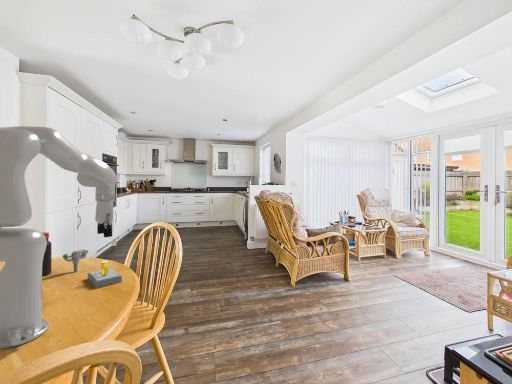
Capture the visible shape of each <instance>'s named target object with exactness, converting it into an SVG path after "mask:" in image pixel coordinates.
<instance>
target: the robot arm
mask: <svg viewBox="0 0 512 384" xmlns="http://www.w3.org/2000/svg"><path fill="white" fill-rule="evenodd" d="M39 154H40V155H43V156H44V157H46V158H47V159H49V160H50V161H51V162H53V163H54V164H55V165H57V166H58V167H59V168H61V169H63V170H65V171H69V172H72V173H77V175H76V180H77V182H78V184H80V185H81V186H82V187H87V188H95V201H94V202H96V206H95V219H94V220H95V222H96V223H97V229H96V230H97V233H96V234H98V235H100V234H101V235H102V234H103V238H111V237H113V222H114V202H115V201H116V184H117V181H118V177H117V174H116V172H115V171H114V170H113V168H111V167H110V166H109V165H108V164H107V163H105V162H104V161H103V160H100V159H98V158H96V157H94V156H91V155H90V154H87V153H85V152H81V151H80V150H79V149H78V148H77V147H76V146H74V144H72V143H71V142H70V141H69V140H68V139H67V138H65V137H64V136H63V135H62V134H61V133H60V132H58V130H56V129H54V128H52V127H47V126H28V125H27V126H24V125H23V126H22V125H21V126H18V125H17V126H7V127H5V126H4V127H0V263H1V262H2V263H4V265H3V267H2V268H1V270H0V349H7V348H13V347H16V346H20V345H23V344H26V343H28V342H31V341H33V340H35V339H37V338H38V337H40V336H41V335H43V334H44V333H45V332H47V330H48V329H49V321H48V320H46V319H43V276H42V264H43V257H44V253H45V249H46V244H47V240H46V237H45V236H44V234H43V232H41V231H39V230H37V229H33V228H25V227H24V228H21V226H23V225H25V224H27V223H29V221H31V220H32V219H31V218H32V216H33V211H32V205H31V201H30V197H29V193H28V189H27V185H26V181H25V173H26V170H27V168H28V166H29V164H30V163H31V162H32V161H33V159H35V158H36V156H38V155H39ZM19 227H20V228H19Z"/></svg>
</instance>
